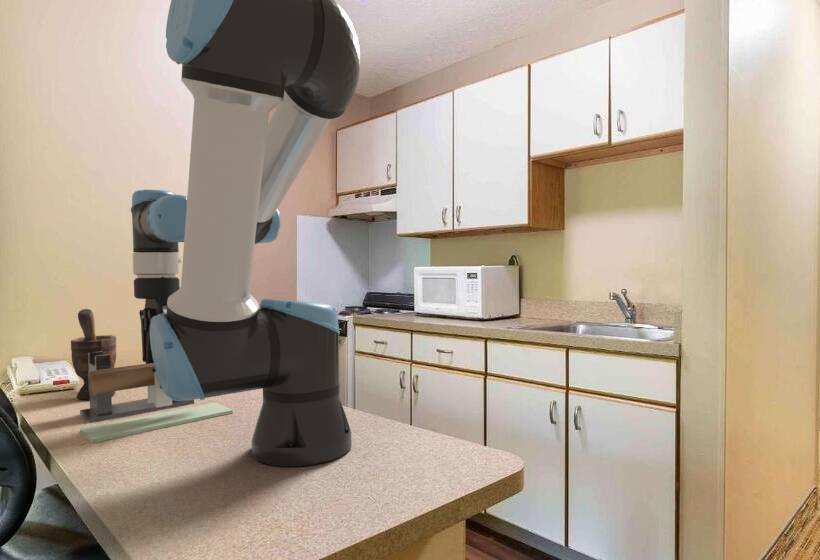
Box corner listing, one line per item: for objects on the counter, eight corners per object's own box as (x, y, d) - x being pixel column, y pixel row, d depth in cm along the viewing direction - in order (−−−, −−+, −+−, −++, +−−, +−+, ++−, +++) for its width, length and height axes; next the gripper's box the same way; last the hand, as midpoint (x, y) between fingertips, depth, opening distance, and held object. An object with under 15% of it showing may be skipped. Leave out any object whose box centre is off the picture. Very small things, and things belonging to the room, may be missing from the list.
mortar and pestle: (124, 399, 113) (121, 307, 113) (77, 407, 108) (74, 310, 107) (114, 390, 122) (111, 304, 122) (70, 396, 117) (67, 306, 116)
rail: (221, 374, 103) (221, 357, 103) (93, 394, 88) (92, 374, 88) (214, 371, 105) (214, 354, 105) (88, 390, 90) (88, 371, 90)
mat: (232, 413, 102) (232, 410, 102) (91, 442, 86) (91, 439, 86) (215, 405, 108) (215, 402, 108) (80, 431, 91) (80, 428, 91)
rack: (194, 403, 110) (192, 346, 109) (89, 422, 97) (87, 357, 96) (180, 396, 116) (178, 342, 115) (80, 414, 103) (78, 353, 102)
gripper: (195, 276, 93) (198, 408, 93) (163, 275, 105) (165, 392, 105) (149, 277, 87) (153, 417, 88) (121, 276, 99) (124, 399, 100)
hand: (160, 403), depth 97 cm, fingers closed on rail, 3 cm apart
